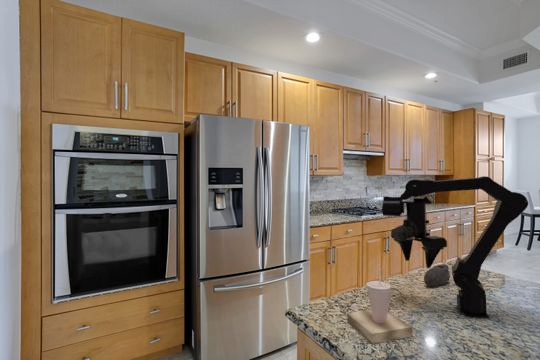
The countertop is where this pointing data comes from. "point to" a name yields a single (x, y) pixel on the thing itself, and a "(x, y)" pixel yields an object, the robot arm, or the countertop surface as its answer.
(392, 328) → the plinth
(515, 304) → the countertop surface
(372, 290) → the smoothie
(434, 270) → the perforated stone tool
